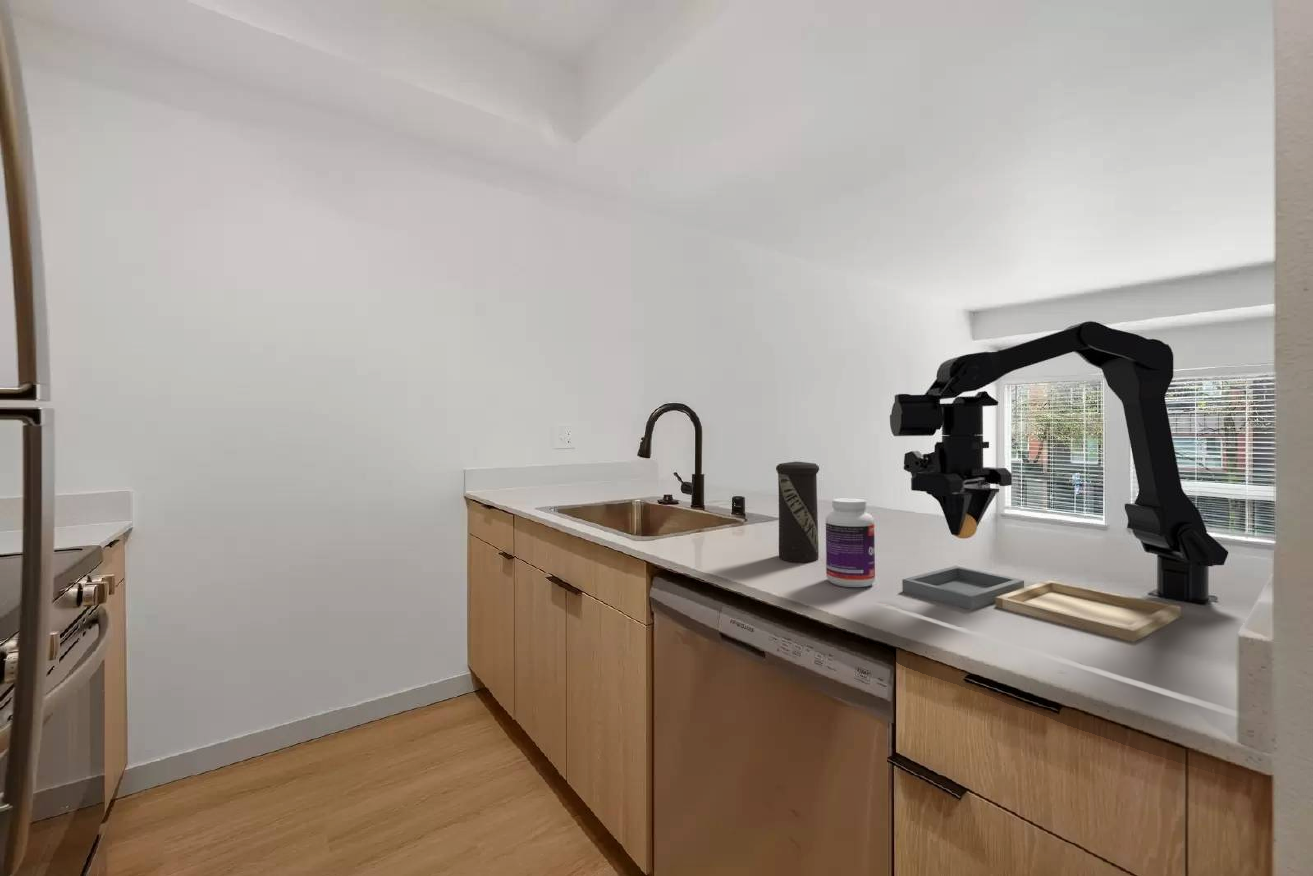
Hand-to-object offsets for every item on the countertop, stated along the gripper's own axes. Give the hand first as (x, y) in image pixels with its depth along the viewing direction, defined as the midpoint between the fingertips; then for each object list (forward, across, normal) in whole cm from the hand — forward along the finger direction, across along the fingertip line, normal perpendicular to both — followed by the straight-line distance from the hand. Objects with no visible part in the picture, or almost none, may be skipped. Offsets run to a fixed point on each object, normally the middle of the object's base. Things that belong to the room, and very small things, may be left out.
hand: (962, 533), depth 87 cm
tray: (+10, 0, 0) cm, 10 cm away
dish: (+10, -5, +14) cm, 18 cm away
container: (+10, +3, -33) cm, 34 cm away
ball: (+1, 0, 0) cm, 1 cm away
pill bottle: (+10, +9, -15) cm, 20 cm away
